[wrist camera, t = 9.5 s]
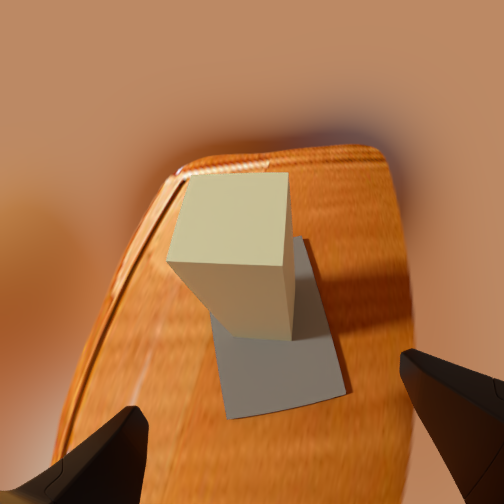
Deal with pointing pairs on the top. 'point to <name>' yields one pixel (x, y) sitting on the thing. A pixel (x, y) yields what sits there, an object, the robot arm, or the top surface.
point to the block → (239, 251)
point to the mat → (281, 356)
